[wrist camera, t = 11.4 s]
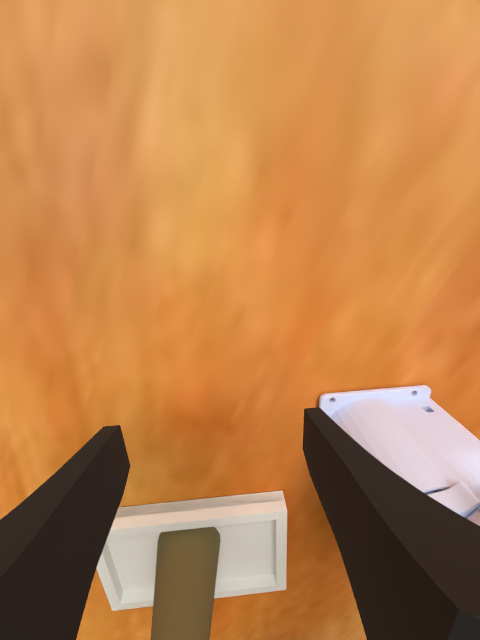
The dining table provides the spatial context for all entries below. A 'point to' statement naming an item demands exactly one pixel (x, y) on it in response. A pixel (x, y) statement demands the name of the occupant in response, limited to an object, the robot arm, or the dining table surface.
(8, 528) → the robot arm
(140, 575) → the white tray
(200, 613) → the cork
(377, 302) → the dining table surface
